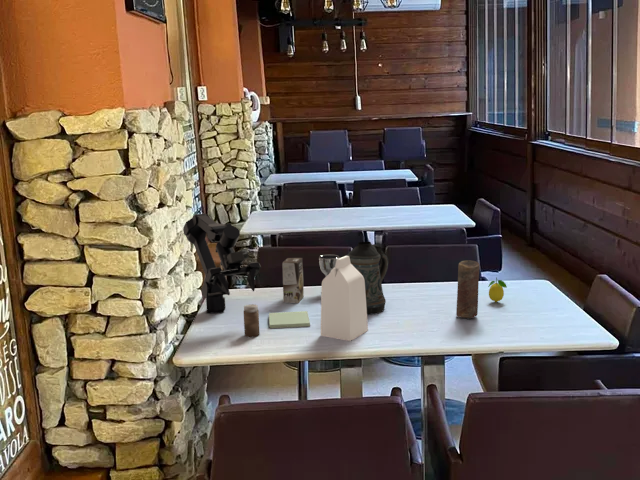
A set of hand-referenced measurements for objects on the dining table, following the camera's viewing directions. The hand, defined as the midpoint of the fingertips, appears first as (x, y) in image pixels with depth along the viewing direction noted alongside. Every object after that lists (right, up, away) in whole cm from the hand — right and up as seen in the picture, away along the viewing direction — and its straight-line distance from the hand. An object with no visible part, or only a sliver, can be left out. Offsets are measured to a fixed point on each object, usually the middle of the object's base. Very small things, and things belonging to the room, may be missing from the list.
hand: (241, 292), depth 244 cm
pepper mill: (+4, -14, -4) cm, 15 cm away
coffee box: (+17, -6, +37) cm, 41 cm away
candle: (+79, -10, +9) cm, 80 cm away
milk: (+35, -13, -4) cm, 38 cm away
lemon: (+94, -6, +26) cm, 97 cm away
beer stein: (+44, -8, +24) cm, 50 cm away
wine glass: (+31, -4, +46) cm, 55 cm away
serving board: (+16, -11, +10) cm, 22 cm away
